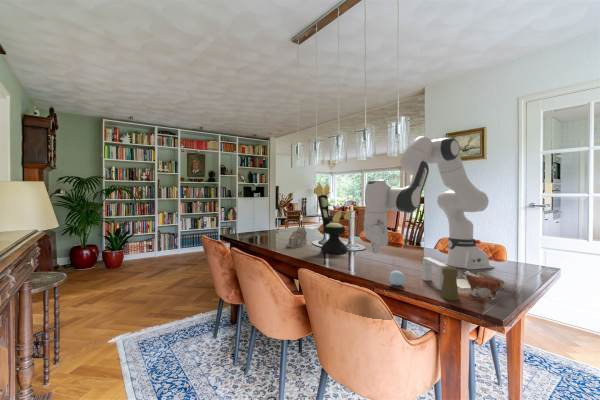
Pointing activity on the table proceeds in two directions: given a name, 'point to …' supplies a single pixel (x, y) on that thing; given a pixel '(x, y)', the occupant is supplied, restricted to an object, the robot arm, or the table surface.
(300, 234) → the ceramic cottage
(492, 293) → the bull figurine
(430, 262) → the bridge
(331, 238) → the candelabra
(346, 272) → the table surface
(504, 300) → the table surface
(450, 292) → the olive tall rounded piece
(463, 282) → the blank cream square sheet
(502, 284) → the stopper
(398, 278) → the ball
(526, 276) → the table surface
